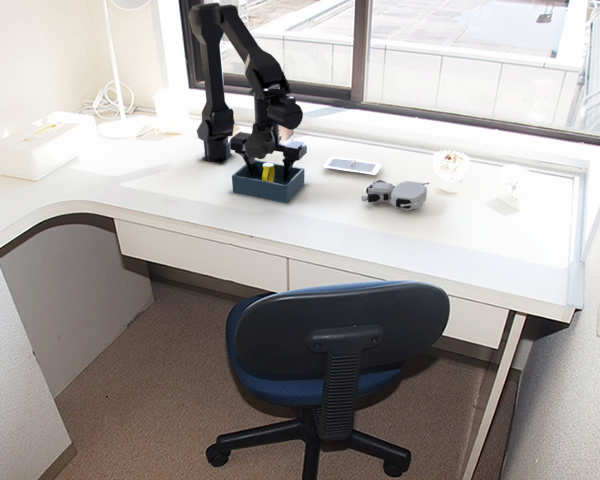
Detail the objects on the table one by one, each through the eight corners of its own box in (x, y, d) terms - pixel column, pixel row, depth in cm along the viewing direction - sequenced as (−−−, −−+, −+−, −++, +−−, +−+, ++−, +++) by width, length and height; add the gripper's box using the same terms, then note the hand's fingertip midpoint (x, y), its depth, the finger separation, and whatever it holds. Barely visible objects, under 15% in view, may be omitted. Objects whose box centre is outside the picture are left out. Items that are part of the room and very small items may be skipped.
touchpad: (375, 178, 148) (376, 171, 147) (322, 170, 152) (322, 163, 151) (381, 167, 154) (382, 160, 153) (330, 159, 158) (330, 152, 157)
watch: (270, 192, 141) (269, 170, 137) (259, 190, 141) (258, 168, 138) (277, 182, 145) (276, 160, 142) (267, 181, 146) (266, 159, 142)
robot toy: (358, 210, 136) (419, 218, 130) (358, 193, 133) (420, 201, 128) (373, 190, 145) (430, 197, 139) (373, 173, 142) (432, 180, 137)
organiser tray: (232, 192, 142) (231, 175, 139) (252, 175, 150) (251, 159, 147) (287, 203, 137) (287, 186, 134) (304, 184, 145) (304, 168, 143)
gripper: (215, 123, 129) (221, 184, 139) (289, 134, 124) (289, 198, 133) (238, 108, 137) (241, 167, 147) (307, 118, 132) (307, 179, 141)
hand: (268, 178), depth 142 cm, fingers open, 9 cm apart
